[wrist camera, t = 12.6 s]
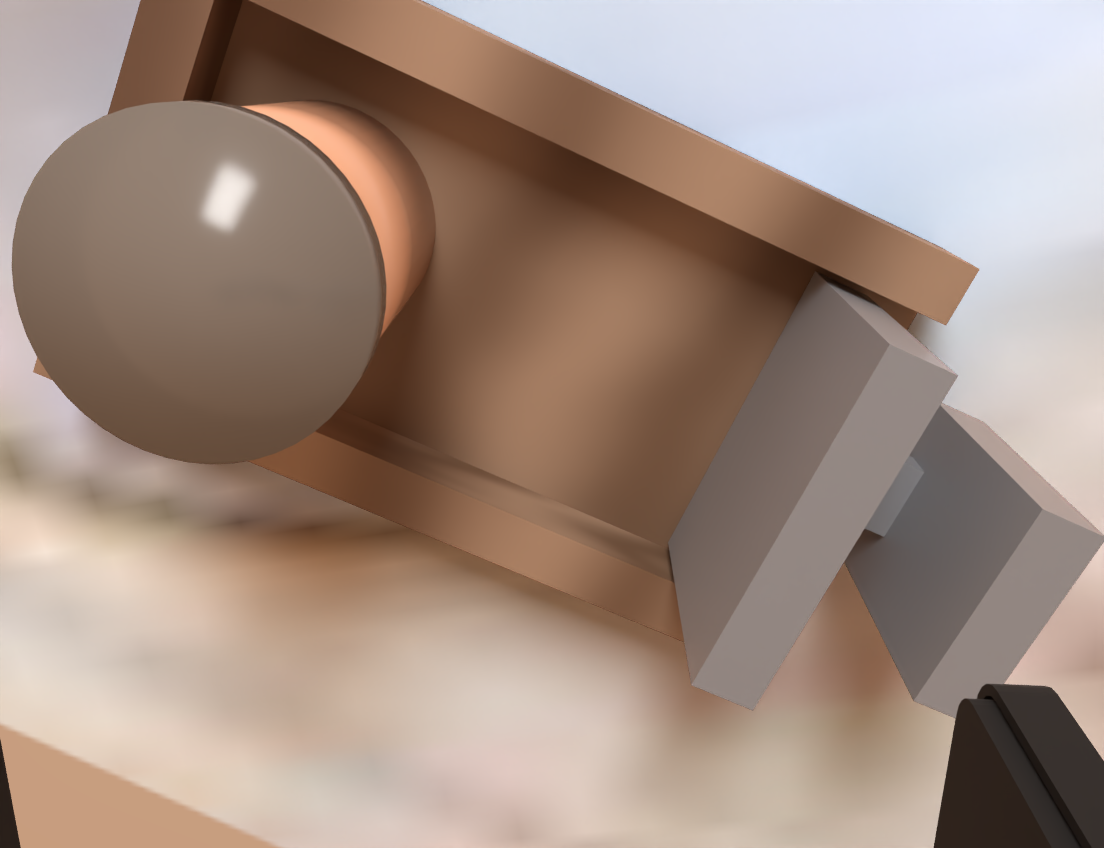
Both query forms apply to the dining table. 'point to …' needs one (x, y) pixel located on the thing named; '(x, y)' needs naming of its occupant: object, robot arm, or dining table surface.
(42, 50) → the dining table surface
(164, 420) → the jar
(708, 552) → the pusher
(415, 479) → the brown wooden tray
